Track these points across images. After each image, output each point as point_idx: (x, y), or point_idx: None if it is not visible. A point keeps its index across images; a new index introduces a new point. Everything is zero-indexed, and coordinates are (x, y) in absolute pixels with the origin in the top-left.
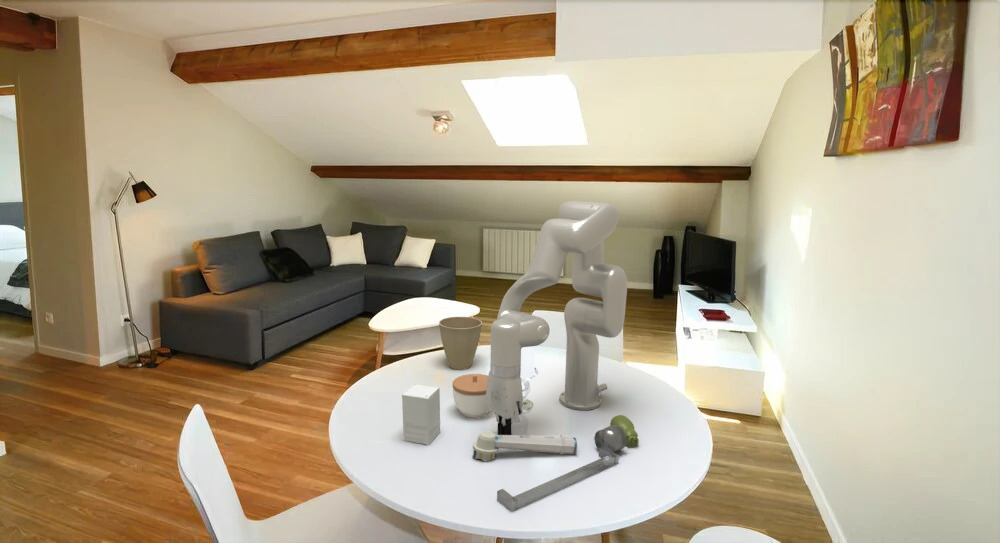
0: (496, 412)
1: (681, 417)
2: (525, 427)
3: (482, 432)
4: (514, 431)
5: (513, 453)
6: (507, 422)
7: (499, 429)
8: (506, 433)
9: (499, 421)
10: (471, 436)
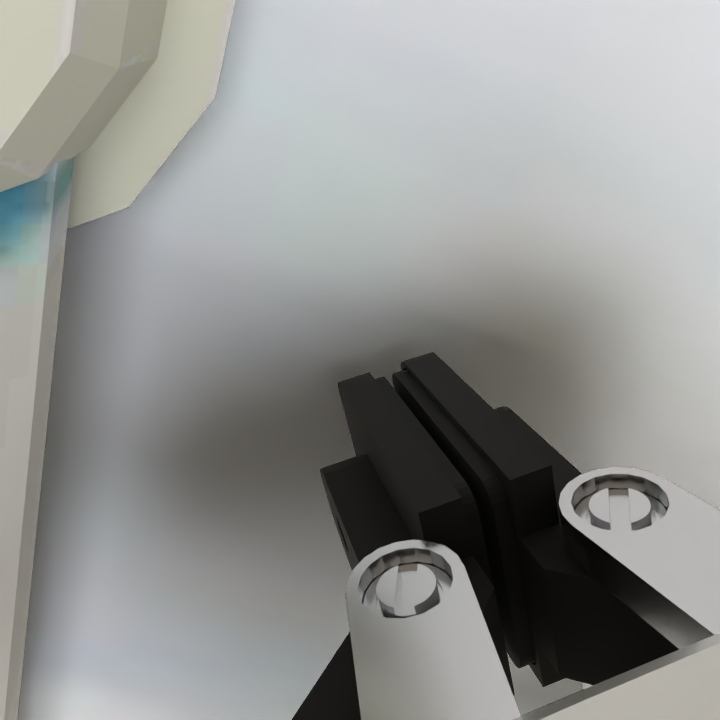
0: (700, 691)
1: None
2: None
3: None
4: None
5: None
6: (327, 713)
7: (447, 433)
8: (337, 509)
9: (560, 523)
10: (697, 4)
